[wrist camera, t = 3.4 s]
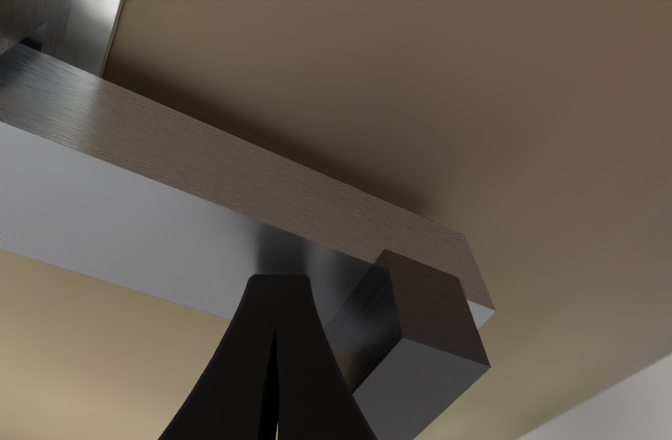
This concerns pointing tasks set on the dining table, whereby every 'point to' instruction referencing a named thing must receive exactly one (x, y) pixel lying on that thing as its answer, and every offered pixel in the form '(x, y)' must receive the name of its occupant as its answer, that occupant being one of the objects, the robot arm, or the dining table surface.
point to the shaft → (236, 233)
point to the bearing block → (62, 29)
